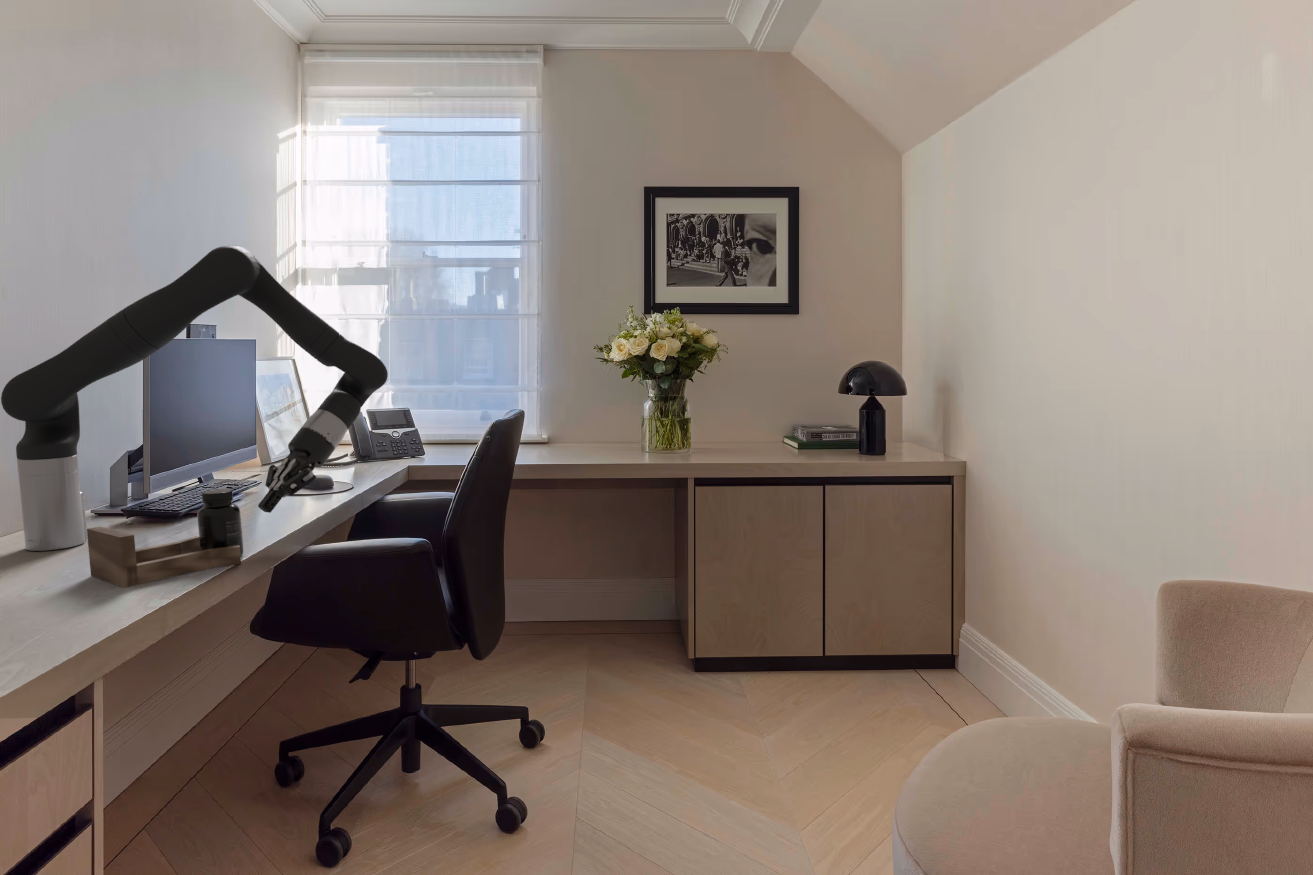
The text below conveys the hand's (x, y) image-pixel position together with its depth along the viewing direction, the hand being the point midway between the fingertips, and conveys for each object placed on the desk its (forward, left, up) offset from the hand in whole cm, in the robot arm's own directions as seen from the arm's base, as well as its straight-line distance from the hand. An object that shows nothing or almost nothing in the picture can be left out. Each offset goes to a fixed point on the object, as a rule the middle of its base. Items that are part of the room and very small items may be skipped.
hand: (263, 509), depth 153 cm
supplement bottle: (+7, -5, -7) cm, 11 cm away
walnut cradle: (+14, -10, -7) cm, 19 cm away
